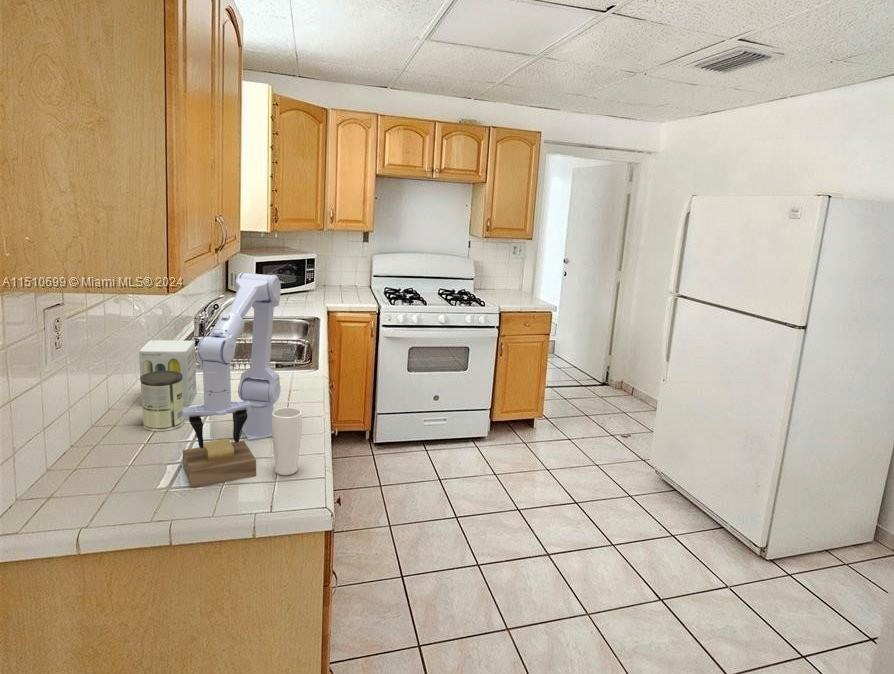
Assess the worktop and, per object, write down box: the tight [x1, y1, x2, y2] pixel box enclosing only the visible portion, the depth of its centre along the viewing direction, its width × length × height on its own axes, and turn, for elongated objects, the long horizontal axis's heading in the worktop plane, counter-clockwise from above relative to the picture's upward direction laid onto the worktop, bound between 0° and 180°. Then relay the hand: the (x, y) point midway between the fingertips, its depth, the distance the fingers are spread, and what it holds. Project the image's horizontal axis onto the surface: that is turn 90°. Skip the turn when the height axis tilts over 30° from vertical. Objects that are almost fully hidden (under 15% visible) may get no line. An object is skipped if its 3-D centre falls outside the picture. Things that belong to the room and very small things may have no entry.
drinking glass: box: [271, 406, 303, 476], centre depth 134 cm, size 7×7×15 cm
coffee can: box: [139, 371, 185, 432], centre depth 155 cm, size 10×10×14 cm
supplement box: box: [138, 339, 197, 407], centre depth 173 cm, size 13×13×18 cm
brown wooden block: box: [181, 440, 257, 489], centre depth 133 cm, size 12×14×4 cm
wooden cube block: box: [203, 438, 234, 462], centre depth 132 cm, size 6×6×6 cm
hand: (218, 443), depth 132 cm, fingers open, 7 cm apart
